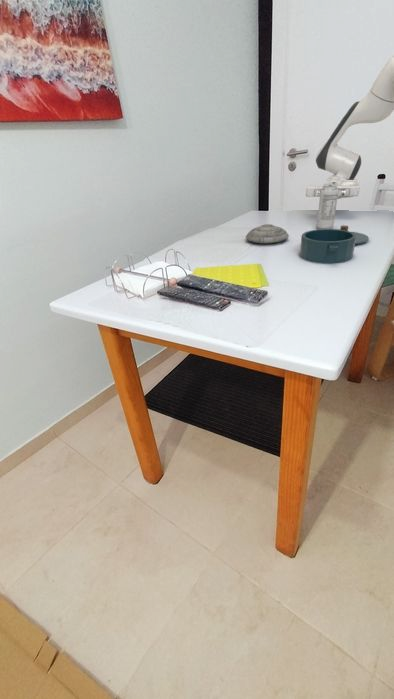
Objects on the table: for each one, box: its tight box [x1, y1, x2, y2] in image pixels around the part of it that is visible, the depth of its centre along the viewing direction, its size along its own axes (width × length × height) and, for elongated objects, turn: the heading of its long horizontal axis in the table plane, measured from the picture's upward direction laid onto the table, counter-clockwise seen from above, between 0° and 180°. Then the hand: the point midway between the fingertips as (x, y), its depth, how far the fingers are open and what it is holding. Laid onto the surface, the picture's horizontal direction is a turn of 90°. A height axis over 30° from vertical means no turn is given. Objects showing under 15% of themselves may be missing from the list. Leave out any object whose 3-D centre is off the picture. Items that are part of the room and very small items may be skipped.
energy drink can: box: [316, 184, 338, 230], centre depth 124 cm, size 6×6×15 cm
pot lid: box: [339, 224, 369, 245], centre depth 112 cm, size 16×16×5 cm
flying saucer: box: [245, 223, 290, 244], centre depth 119 cm, size 15×15×6 cm
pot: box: [299, 228, 356, 264], centre depth 100 cm, size 15×20×6 cm
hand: (330, 193), depth 131 cm, fingers open, 8 cm apart
